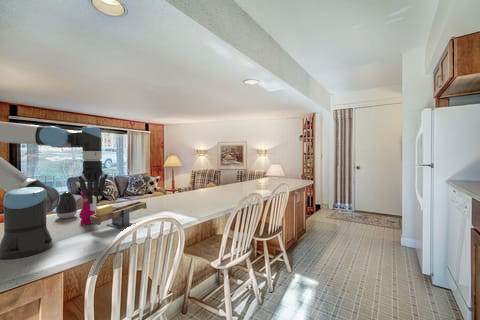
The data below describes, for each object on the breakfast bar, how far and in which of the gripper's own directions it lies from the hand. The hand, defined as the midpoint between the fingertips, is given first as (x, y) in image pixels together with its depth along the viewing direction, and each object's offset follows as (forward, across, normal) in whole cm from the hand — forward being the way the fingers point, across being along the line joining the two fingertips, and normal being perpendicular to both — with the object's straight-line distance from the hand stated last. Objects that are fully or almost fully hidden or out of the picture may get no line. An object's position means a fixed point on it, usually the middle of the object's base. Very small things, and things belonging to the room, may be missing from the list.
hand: (93, 210), depth 105 cm
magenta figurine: (+11, +6, +19) cm, 23 cm away
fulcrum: (+11, +13, 0) cm, 17 cm away
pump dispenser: (+11, +5, +41) cm, 43 cm away
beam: (+5, +13, 0) cm, 15 cm away
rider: (+4, +5, 0) cm, 6 cm away
